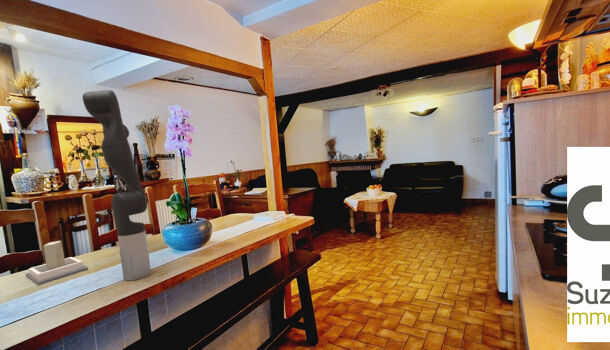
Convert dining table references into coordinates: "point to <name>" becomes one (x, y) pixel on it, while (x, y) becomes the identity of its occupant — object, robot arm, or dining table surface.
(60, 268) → the pocket board
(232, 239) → the dining table surface
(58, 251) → the skincare box
